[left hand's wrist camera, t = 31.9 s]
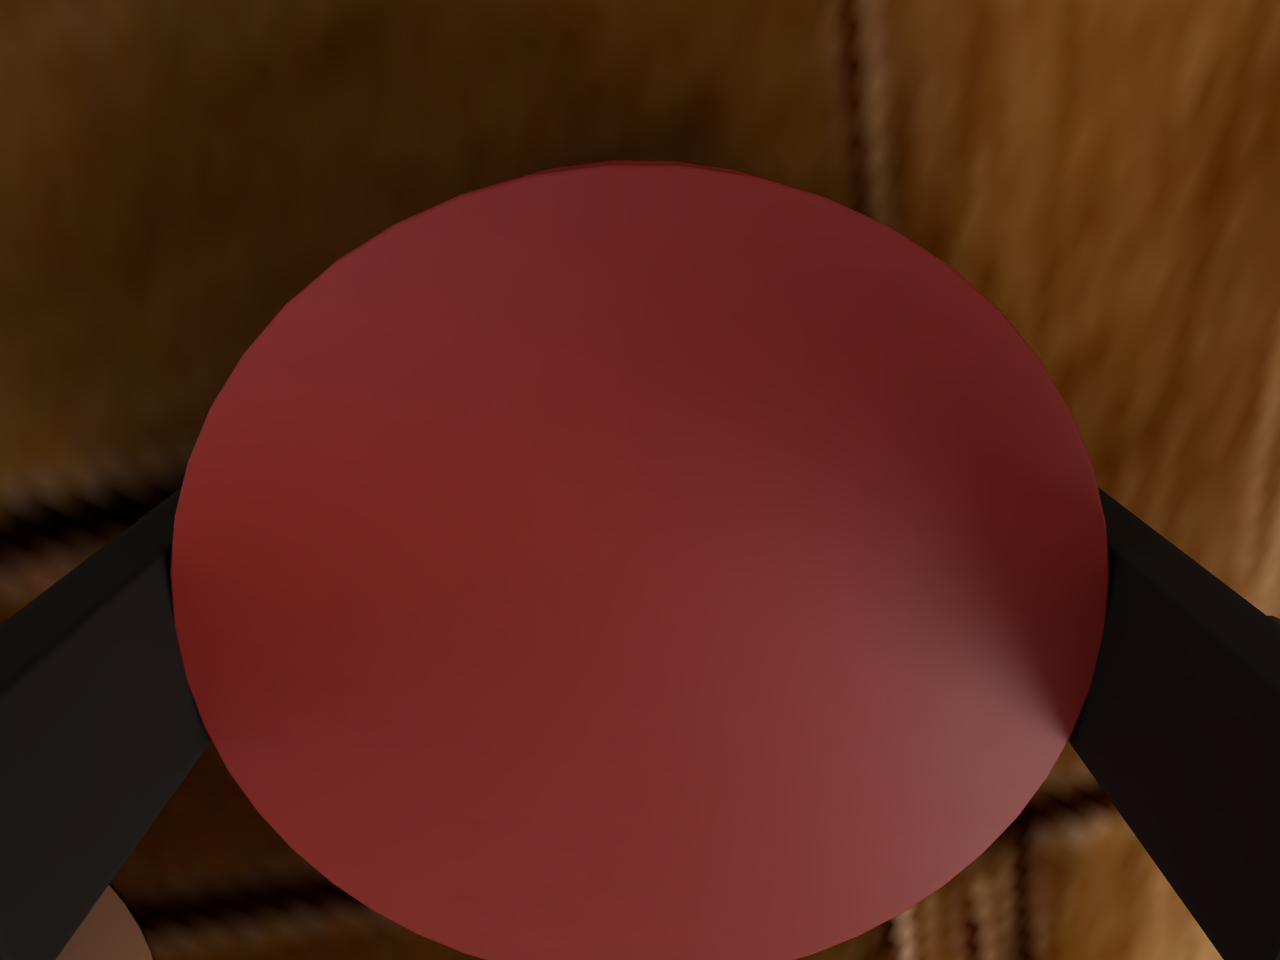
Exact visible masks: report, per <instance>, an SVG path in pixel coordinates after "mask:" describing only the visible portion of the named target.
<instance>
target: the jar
mask: <svg viewBox="0 0 1280 960" xmlns="http://www.w3.org/2000/svg"><path fill="white" fill-rule="evenodd" d="M56 960H153V957H152V953H151V950H150V948H149V946H148V944H147V941H146V939H145V937H144V935H143V933H142V930H141V928H140V926H139V925H138V923H137V922H136V920H135V918H134V917H133V915H132V914H131V912H130V910H129V909H128V907H127V906H126V904H125V903H124V902H123V900H122V899H121V898H120V897H119V895H118V894H117V893H116V892H115V891H114V889H113V888H112V887H111V886H110V885H108V887H107V888H106V889H105V891H104V892H103V894H102V895H101V896H100V898H99V899H98V901H97V902H96V903H95V905H94V906H93V908H92V909H91V911H90V912H89V913H88V915H87V916H86V918H85V919H84V920H83V922H82V923H81V925H80V926H79V927H78V929H77V930H76V932H75V933H74V934H73V936H72V937H71V939H70V940H69V941H68V943H67V944H66V946H65V947H64V949H63V950H62V951H61V953H60V954H59V956H58V957H57V958H56Z"/></svg>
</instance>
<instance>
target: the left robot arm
mask: <svg viewBox="0 0 1280 960" xmlns="http://www.w3.org/2000/svg"><path fill="white" fill-rule="evenodd" d="M181 489H182V487H181V488H180V489H178V490H177V491H176V492H175V493H173V494H172V495H171V496H169V497H168V498H167V499H165V500H164V501H163V502H161V503H160V504H159V505H157V506H156V507H155V508H154V509H152V510H151V511H150V512H148V513H147V514H146V515H144V516H143V517H142V518H140V519H139V520H138V521H136V522H135V523H134V524H133V525H131V526H130V527H129V528H127V529H126V530H125V531H123V532H122V533H121V534H119V535H118V536H117V537H116V538H114V539H113V540H112V541H110V542H109V543H108V544H106V545H105V546H104V547H102V548H101V549H100V550H98V551H97V552H96V553H95V554H93V555H92V556H91V557H89V558H88V559H87V560H85V561H84V562H83V563H81V564H80V565H79V566H77V567H76V568H75V569H74V570H72V571H71V572H70V573H68V574H67V575H66V576H64V577H63V578H62V579H60V580H59V581H58V582H56V583H55V584H54V585H53V586H51V587H50V588H49V589H47V590H46V591H45V592H43V593H42V594H41V595H39V596H38V597H37V598H35V599H34V600H33V601H32V602H30V603H29V604H28V605H26V606H25V607H24V608H22V609H21V610H20V611H18V612H17V613H16V614H14V615H13V616H12V617H11V618H9V619H7V620H5V621H2V622H0V960H56V958H57V957H58V956H59V954H60V953H61V951H62V950H63V949H64V947H65V946H66V944H67V943H68V941H69V940H70V939H71V937H72V936H73V934H74V933H75V932H76V930H77V929H78V927H79V926H80V925H81V923H82V922H83V920H84V919H85V918H86V916H87V915H88V913H89V912H90V911H91V909H92V908H93V906H94V905H95V903H96V902H97V901H98V899H99V898H100V896H101V895H102V894H103V892H104V891H105V889H106V888H107V887H108V885H109V884H110V882H111V881H112V880H113V878H114V877H115V875H116V874H117V873H118V871H119V870H120V868H121V867H122V865H123V864H124V863H125V861H126V860H127V858H128V857H129V856H130V854H131V853H132V851H133V850H134V849H135V847H136V846H137V844H138V843H139V842H140V840H141V839H142V837H143V836H144V835H145V833H146V832H147V830H148V829H149V827H150V826H151V825H152V823H153V822H154V820H155V819H156V818H157V816H158V815H159V813H160V812H161V811H162V809H163V808H164V806H165V805H166V804H167V802H168V801H169V799H170V798H171V797H172V795H173V794H174V792H175V791H176V789H177V788H178V787H179V785H180V784H181V782H182V781H183V780H184V778H185V777H186V775H187V774H188V773H189V771H190V770H191V768H192V767H193V766H194V764H195V763H196V761H197V760H198V759H199V757H200V756H201V754H202V753H203V751H204V750H205V749H206V747H207V746H208V744H209V743H210V742H211V738H210V737H209V735H208V733H207V731H206V729H205V727H204V725H203V722H202V720H201V717H200V715H199V712H198V709H197V707H196V704H195V701H194V699H193V696H192V694H191V691H190V688H189V685H188V682H187V678H186V674H185V669H184V665H183V661H182V656H181V652H180V648H179V643H178V639H177V635H176V630H175V626H174V620H173V606H172V592H171V578H170V568H171V556H172V543H173V531H174V519H175V513H176V509H177V505H178V501H179V497H180V493H181ZM1098 491H1099V495H1100V500H1101V504H1102V509H1103V513H1104V518H1105V522H1106V536H1107V551H1108V566H1109V587H1108V599H1107V610H1106V621H1105V627H1104V632H1103V637H1102V641H1101V645H1100V649H1099V654H1098V658H1097V662H1096V667H1095V671H1094V675H1093V679H1092V684H1091V687H1090V690H1089V693H1088V695H1087V698H1086V700H1085V703H1084V705H1083V708H1082V710H1081V713H1080V715H1079V718H1078V720H1077V723H1076V725H1075V728H1074V730H1073V733H1072V734H1071V736H1070V738H1069V740H1068V741H1069V742H1070V744H1071V745H1072V747H1073V748H1074V749H1075V751H1076V752H1077V754H1078V755H1079V757H1080V758H1081V759H1082V761H1083V762H1084V764H1085V765H1086V766H1087V768H1088V769H1089V771H1090V772H1091V773H1092V775H1093V776H1094V778H1095V779H1096V780H1097V782H1098V783H1099V785H1100V786H1101V787H1102V789H1103V790H1104V792H1105V793H1106V795H1107V796H1108V797H1109V799H1110V800H1111V802H1112V803H1113V804H1114V806H1115V807H1116V809H1117V810H1118V811H1119V813H1120V814H1121V816H1122V817H1123V818H1124V820H1125V821H1126V823H1127V824H1128V826H1129V827H1130V828H1131V830H1132V831H1133V833H1134V834H1135V835H1136V837H1137V838H1138V840H1139V841H1140V842H1141V844H1142V845H1143V847H1144V848H1145V849H1146V851H1147V852H1148V854H1149V855H1150V856H1151V858H1152V859H1153V861H1154V862H1155V864H1156V865H1157V866H1158V868H1159V869H1160V871H1161V872H1162V873H1163V875H1164V876H1165V878H1166V879H1167V880H1168V882H1169V883H1170V885H1171V886H1172V887H1173V889H1174V890H1175V892H1176V893H1177V894H1178V896H1179V897H1180V899H1181V900H1182V902H1183V903H1184V904H1185V906H1186V907H1187V909H1188V910H1189V911H1190V913H1191V914H1192V916H1193V917H1194V918H1195V920H1196V921H1197V923H1198V924H1199V925H1200V927H1201V928H1202V930H1203V931H1204V932H1205V934H1206V935H1207V937H1208V938H1209V940H1210V941H1211V942H1212V944H1213V945H1214V947H1215V948H1216V949H1217V951H1218V952H1219V954H1220V955H1221V956H1222V958H1223V959H1224V960H1280V619H1278V618H1276V617H1274V616H1266V615H1265V614H1264V613H1262V612H1261V611H1260V610H1258V609H1257V608H1256V607H1254V606H1253V605H1252V604H1250V603H1249V602H1248V601H1247V600H1245V599H1244V598H1243V597H1241V596H1240V595H1239V594H1237V593H1236V592H1235V591H1233V590H1232V589H1231V588H1229V587H1228V586H1227V585H1226V584H1224V583H1223V582H1222V581H1220V580H1219V579H1218V578H1216V577H1215V576H1214V575H1212V574H1211V573H1210V572H1208V571H1207V570H1206V569H1205V568H1203V567H1202V566H1201V565H1199V564H1198V563H1197V562H1195V561H1194V560H1193V559H1191V558H1190V557H1189V556H1187V555H1186V554H1185V553H1184V552H1182V551H1181V550H1180V549H1178V548H1177V547H1176V546H1174V545H1173V544H1172V543H1170V542H1169V541H1168V540H1166V539H1165V538H1164V537H1163V536H1161V535H1160V534H1159V533H1157V532H1156V531H1155V530H1153V529H1152V528H1151V527H1149V526H1148V525H1147V524H1146V523H1144V522H1143V521H1142V520H1140V519H1139V518H1138V517H1136V516H1135V515H1134V514H1132V513H1131V512H1130V511H1128V510H1127V509H1126V508H1125V507H1123V506H1122V505H1121V504H1119V503H1118V502H1117V501H1115V500H1114V499H1113V498H1111V497H1110V496H1109V495H1107V494H1106V493H1105V492H1104V491H1102V490H1101V489H1100V488H1098Z"/></svg>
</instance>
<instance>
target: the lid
mask: <svg viewBox="0 0 1280 960" xmlns="http://www.w3.org/2000/svg"><path fill="white" fill-rule="evenodd" d="M170 578H171V592H172V606H173V620H174V626H175V630H176V635H177V639H178V643H179V648H180V652H181V656H182V661H183V665H184V669H185V674H186V678H187V682H188V685H189V688H190V691H191V694H192V696H193V699H194V701H195V704H196V707H197V709H198V712H199V715H200V717H201V720H202V722H203V725H204V727H205V729H206V731H207V733H208V735H209V737H210V738H211V740H212V742H213V744H214V746H215V748H216V749H217V751H218V753H219V755H220V757H221V759H222V760H223V762H224V764H225V766H226V768H227V769H228V771H229V773H230V774H231V776H232V777H233V778H234V780H235V781H236V782H237V784H238V785H239V787H240V788H241V789H242V791H243V792H244V793H245V795H246V796H247V798H248V799H249V800H250V802H251V803H252V804H253V806H254V807H255V809H256V810H257V811H258V813H259V814H260V815H261V816H262V817H263V818H264V819H265V820H266V821H267V822H268V823H269V824H270V826H271V827H272V828H273V829H274V830H275V831H276V832H277V833H278V834H279V835H280V836H281V837H282V838H283V839H284V841H285V842H286V843H287V844H288V845H289V846H290V847H291V848H292V849H293V850H294V851H295V852H296V853H297V854H299V855H300V856H301V857H302V858H303V859H305V860H306V861H307V862H308V863H309V864H310V865H312V866H313V867H314V868H315V869H316V870H318V871H319V872H320V873H321V874H322V875H323V876H325V877H326V878H327V879H328V880H329V881H330V882H332V883H333V884H335V885H336V886H338V887H339V888H341V889H342V890H343V891H345V892H346V893H348V894H349V895H351V896H352V897H354V898H355V899H357V900H358V901H360V902H361V903H363V904H364V905H366V906H367V907H369V908H370V909H372V910H373V911H375V912H377V913H379V914H381V915H382V916H384V917H386V918H388V919H390V920H392V921H394V922H396V923H398V924H399V925H401V926H403V927H405V928H407V929H409V930H411V931H413V932H415V933H416V934H418V935H421V936H423V937H426V938H428V939H431V940H433V941H436V942H438V943H441V944H443V945H445V946H448V947H450V948H453V949H455V950H458V951H460V952H463V953H465V954H469V955H472V956H475V957H479V958H482V959H486V960H794V959H798V958H801V957H805V956H808V955H811V954H814V953H816V952H819V951H821V950H824V949H826V948H829V947H831V946H834V945H837V944H839V943H842V942H844V941H847V940H849V939H852V938H854V937H857V936H859V935H861V934H863V933H865V932H866V931H868V930H870V929H872V928H874V927H876V926H878V925H880V924H882V923H884V922H886V921H888V920H890V919H892V918H894V917H895V916H897V915H899V914H901V913H903V912H904V911H906V910H907V909H909V908H910V907H912V906H913V905H915V904H917V903H918V902H920V901H921V900H923V899H924V898H926V897H927V896H929V895H930V894H932V893H933V892H935V891H936V890H938V889H939V888H941V887H942V886H944V885H945V884H946V883H947V882H949V881H950V880H951V879H952V878H953V877H955V876H956V875H957V874H958V873H959V872H961V871H962V870H963V869H964V868H966V867H967V866H968V865H969V864H970V863H972V862H973V861H974V860H975V859H976V858H978V857H979V856H980V855H981V854H982V853H983V852H984V851H985V850H986V849H987V848H988V847H989V846H990V845H991V844H992V843H993V842H994V841H995V840H996V839H997V838H998V837H999V836H1000V835H1001V834H1002V833H1003V831H1004V830H1005V829H1006V828H1007V827H1008V826H1009V825H1010V824H1011V823H1012V822H1013V821H1014V820H1015V819H1016V818H1017V817H1018V815H1019V814H1020V813H1021V811H1022V810H1023V809H1024V807H1025V806H1026V805H1027V803H1028V802H1029V801H1030V799H1031V798H1032V797H1033V795H1034V794H1035V793H1036V791H1037V790H1038V789H1039V787H1040V786H1041V785H1042V783H1043V782H1044V781H1045V779H1046V778H1047V777H1048V775H1049V773H1050V772H1051V770H1052V768H1053V766H1054V764H1055V763H1056V761H1057V759H1058V757H1059V756H1060V754H1061V752H1062V750H1063V748H1064V747H1065V745H1066V743H1067V741H1068V740H1069V738H1070V736H1071V734H1072V733H1073V730H1074V728H1075V725H1076V723H1077V720H1078V718H1079V715H1080V713H1081V710H1082V708H1083V705H1084V703H1085V700H1086V698H1087V695H1088V693H1089V690H1090V687H1091V684H1092V679H1093V675H1094V671H1095V667H1096V662H1097V658H1098V654H1099V649H1100V645H1101V641H1102V637H1103V632H1104V627H1105V621H1106V610H1107V599H1108V587H1109V566H1108V551H1107V536H1106V522H1105V518H1104V513H1103V509H1102V504H1101V500H1100V495H1099V491H1098V487H1097V482H1096V478H1095V473H1094V469H1093V465H1092V463H1091V460H1090V458H1089V455H1088V453H1087V450H1086V448H1085V445H1084V443H1083V440H1082V438H1081V435H1080V433H1079V430H1078V428H1077V425H1076V423H1075V420H1074V417H1073V415H1072V412H1071V410H1070V409H1069V407H1068V405H1067V404H1066V402H1065V400H1064V399H1063V397H1062V395H1061V394H1060V392H1059V390H1058V389H1057V387H1056V385H1055V384H1054V382H1053V380H1052V378H1051V377H1050V375H1049V373H1048V372H1047V370H1046V368H1045V367H1044V365H1043V363H1042V362H1041V360H1040V358H1039V357H1038V356H1037V355H1036V354H1035V352H1034V351H1033V350H1032V349H1031V348H1030V346H1029V345H1028V344H1027V343H1026V341H1025V340H1024V339H1023V338H1022V337H1021V335H1020V334H1019V333H1018V332H1017V331H1016V329H1015V328H1014V327H1013V326H1012V325H1011V323H1010V322H1009V321H1008V320H1007V319H1006V317H1005V316H1004V315H1003V314H1002V313H1001V311H1000V310H999V309H998V308H997V307H996V306H995V305H993V304H992V303H991V302H990V301H989V300H988V299H987V298H986V297H984V296H983V295H982V294H981V293H980V292H979V291H978V290H977V289H975V288H974V287H973V286H972V285H971V284H970V283H969V282H968V281H966V280H965V279H964V278H963V277H962V276H961V275H960V274H959V273H957V272H956V271H955V270H954V269H953V268H952V267H951V266H950V265H948V264H947V263H945V262H944V261H942V260H941V259H939V258H938V257H936V256H934V255H933V254H931V253H930V252H928V251H927V250H925V249H924V248H922V247H921V246H919V245H918V244H916V243H914V242H913V241H911V240H910V239H908V238H907V237H905V236H904V235H902V234H901V233H899V232H898V231H896V230H894V229H893V228H891V227H890V226H887V225H885V224H883V223H881V222H879V221H876V220H874V219H872V218H870V217H868V216H866V215H863V214H861V213H859V212H857V211H855V210H853V209H850V208H848V207H846V206H844V205H842V204H839V203H837V202H835V201H833V200H831V199H829V198H826V197H824V196H821V195H817V194H814V193H811V192H808V191H805V190H802V189H798V188H795V187H792V186H788V185H785V184H782V183H778V182H775V181H772V180H768V179H765V178H761V177H758V176H755V175H751V174H748V173H745V172H741V171H738V170H733V169H726V168H719V167H712V166H706V165H699V164H692V163H685V162H679V161H622V160H611V161H604V162H596V163H589V164H581V165H574V166H566V167H558V168H551V169H547V170H543V171H540V172H536V173H532V174H529V175H525V176H522V177H518V178H515V179H511V180H507V181H504V182H500V183H497V184H493V185H490V186H486V187H483V188H480V189H477V190H474V191H470V192H467V193H464V194H461V195H459V196H456V197H454V198H452V199H450V200H447V201H445V202H443V203H440V204H438V205H436V206H434V207H431V208H429V209H427V210H425V211H422V212H420V213H418V214H416V215H413V216H411V217H409V218H406V219H404V220H402V221H400V222H397V223H395V224H394V225H392V226H390V227H389V228H387V229H386V230H384V231H382V232H381V233H379V234H378V235H376V236H375V237H373V238H371V239H370V240H368V241H367V242H365V243H363V244H362V245H360V246H359V247H357V248H355V249H354V250H352V251H351V252H349V253H347V254H346V255H344V256H343V257H341V258H340V259H338V260H336V261H335V262H334V263H333V264H332V265H331V266H329V267H328V268H327V269H326V270H325V271H324V272H322V273H321V274H320V275H319V276H318V277H317V278H315V279H314V280H313V281H312V282H311V283H310V284H308V285H307V286H306V287H305V288H304V289H303V290H301V291H300V292H299V293H298V294H297V295H296V296H294V297H293V298H292V299H291V300H290V301H289V302H288V303H286V304H285V305H284V307H283V308H282V309H281V310H280V311H279V312H278V314H277V315H276V316H275V317H274V318H273V319H272V321H271V322H270V323H269V324H268V325H267V326H266V328H265V329H264V330H263V331H262V332H261V333H260V335H259V336H258V337H257V338H256V339H255V340H254V342H253V343H252V344H251V345H250V346H249V347H248V349H247V350H246V351H245V352H244V353H243V355H242V357H241V358H240V360H239V361H238V363H237V365H236V366H235V368H234V370H233V371H232V373H231V374H230V376H229V378H228V379H227V381H226V382H225V384H224V386H223V387H222V389H221V391H220V392H219V394H218V395H217V397H216V399H215V400H214V402H213V404H212V405H211V407H210V410H209V412H208V414H207V417H206V419H205V422H204V424H203V426H202V429H201V431H200V434H199V436H198V438H197V441H196V443H195V446H194V448H193V450H192V453H191V455H190V458H189V460H188V464H187V468H186V472H185V476H184V480H183V484H182V489H181V493H180V497H179V501H178V505H177V509H176V513H175V519H174V531H173V543H172V556H171V568H170Z"/></svg>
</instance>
